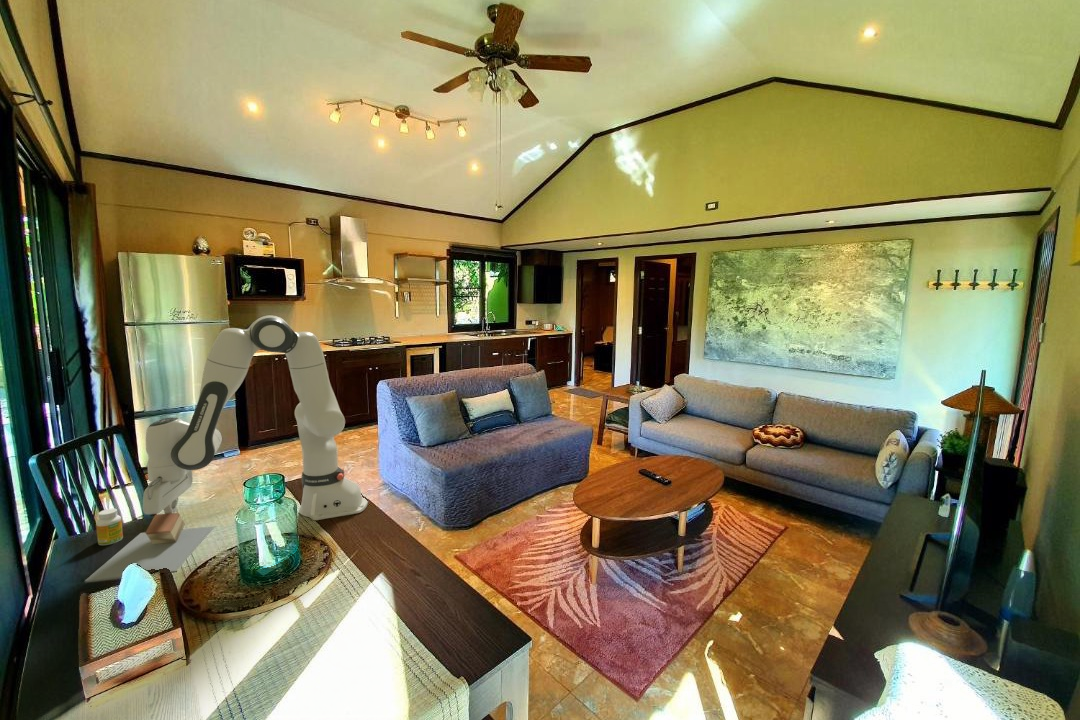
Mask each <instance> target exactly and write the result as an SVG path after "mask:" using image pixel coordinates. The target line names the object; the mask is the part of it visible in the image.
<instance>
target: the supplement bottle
mask: <svg viewBox="0 0 1080 720" xmlns="http://www.w3.org/2000/svg"><path fill="white" fill-rule="evenodd" d="M95 523H96V524H95V528H96V536H97V544H98V545H99V546H108V545H112V544H116V543H118V542H119V541H122V540H123V538H124V534H123V524H122V523H123V522H122V516H120V515H119V514H118V509H117V508H105V509H103V510H101V511H99V512H98V520H96V522H95Z"/></svg>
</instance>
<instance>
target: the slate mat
mask: <svg viewBox="0 0 1080 720" xmlns="http://www.w3.org/2000/svg"><path fill="white" fill-rule="evenodd" d="M215 528H216V526H204V527H193V528H192V527H191V528H183V530H182V532H181V534H180V536H179V538H178V540H177V542H172V543H160V544H152V542H151V541H150V539H149V537H148V536H147V534H146V533H145V532H140V533H139V534H138V535H136V536H135V537H134V538H133V539H132V540H131V541H130V542H128V543H127V544H126V545H124V547H123V548H121V549H120V550H119V551H118V552H117V553H116V554H114V555H112V557H110V559H108V560H107V561H106V562H105V563H104V564H103V565H101V566H100V567H99V568H98V569H97V570H95V571H94V572H93V573H92V574H91V575H89V577H87V578H86V579H85V580H84V583H91V582H92V583H93V582H94V583H95V582H101V581H103V582H104V581H109V580H118V579H119V580H120V579H122V578H121V576H122V572H123V570H124V569H125V568H126V567H127V566H128V565H129V564H131V563H137V564H138V565H140V566H141V567H142V568H144V569H146V570H151V569H155V570H159V569H163V568H167V569H169V570H170V572H171V573H170V574H172V573H173V574H174V573H177V572H178V569H179V568H180V567H181V566H182V565H183V564H184V563H185V561H187V559H188V558H189V557H190V556H191V555H192V553H194V551H195V550H197V548H198V547H199V546H200V545H201V544H202V542H203V541H204V540H205V538H207V537H208V535H209V534H210V533H211V532H212V531H213V529H215Z"/></svg>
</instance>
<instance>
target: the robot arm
mask: <svg viewBox="0 0 1080 720" xmlns="http://www.w3.org/2000/svg"><path fill="white" fill-rule="evenodd" d="M260 350H262V351H264V352H270V353H280V354H281V353H282V354H285V357H286V360H287V364H288V369H289V372H290V377H291V381H292V386H293V390H294V392H295V395H297V399H298V401H299V403H298V404H297V405H296V407H295V409H294V418H295V420H296V424H297V431H298V436H299V442H300V445H301V451H302V452H301V453H302V454H301V455H302V470H303V471H302V473H301V485H302V487H301V488H302V498H301V503H300V508H299V510H298V512H299V514H300V515H302V516H304V517H308V518H310V519H311V520H313V521H319V520H325V519H332V518H337V517H344V516H350V515H354V514H360V513H362V512H363V511H364V510H366V508H367V506H368V504H369V498H368V496H367V495H366V494H365V493H362V491H361V488H360V486H359V484H358V483H356V482H355V481H353V480H351V479H349V478H347V477H345V467H342V468H341V467H339V466H338V465H339V463H338V462H339V461H338V458H339V457H338V456H339V455H338V446H337V443H336V441H335V437H336V436H338V435H339V434H340V433H342V431H343V430H344V428H345V424H346V419H345V416H344V414H343V413H342V411H341V408H340V405H339V403H338V400H337V397H336V395H335V392H334V389H333V387H332V384H331V382H330V378H329V372H328V369H327V362H326V359H325V354H324V352H323V347H322V346H321V343H320V341H319V339H318V337H317V336H316V334H314V333H313V332H310V331H294V330H293V329H292V328H291V326H290V325H289V324H288V322H287V321H286V320H285V319H283V318H282V317H279V316H278V315H275V314H265V315H262V316H258V318H255V320H254V321H252V322H251V323H250V324H249V325H247V326H246V327H245V328H237V327H229V328H224V329H222V330H221V331H220V332H219V333H218V335H217V337H216V338H215V340H214V342H213V343H212V346H211V348H210V349H209V353H208V354H207V358H206V361H205V363H204V368H203V372H202V377H201V378H202V379H201V383H200V384H201V385H200V391H199V397H198V400H197V404H196V407H195V408H194V412H193V415H192V418H191V420H190V422H188V421H185V420H183V419H181V418H180V417H173V416H172V417H166V418H161V419H159V420H155V421H154V422H152V423H151V424H149V426H147V427H146V431H145V452H146V454H147V456H148V459H147V463H146V466H147V475H148V476H147V477H148V481H149V483H148V486H147V487H146V488H145V490H144V491H143V495H142V496H143V497H142V499H143V500H142V511H143V514H144V515H157V514H160V513H161V512H163V511H164V514H171V513H177V511H178V509H177V508H178V503H179V502H178V501H179V498H180V496H182V495H183V494H184V493H185V492H186V491H188V490H189V489H190V488H191V487H192V485H193V480H194V478H193V477H194V476H193V471H198V470H200V469H203V468H205V467H207V466H208V465H209V464H210V463H212V462H213V459H214V458H215V457H214V456H215V455H216V454H217V452H218V450H219V448H220V446H221V445H222V442H223V436H222V432H221V431H220V430H219V429H218V428H217V426H218V423H219V419H220V418H221V414H222V412H223V409H224V407H226V404H227V403H228V401H229V400H230V399H231V398H232V396H233V395H234V394H235V393H236V392H237V391H238V389H239V388H240V387H241V385H242V384H243V382H244V380H245V378H246V376H247V374H248V371H249V369H250V368H249V367H250V366H251V363H252V359H253V357H254V355H255V354H256V353H257V352H258V351H260ZM361 494H362V495H363V496H364V497H366V498H367V499H368V501H367V500H366V499H365V498H363V497H362V495H361Z"/></svg>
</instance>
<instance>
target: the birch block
mask: <svg viewBox="0 0 1080 720" xmlns="http://www.w3.org/2000/svg"><path fill="white" fill-rule="evenodd" d="M185 525H186V524H185V521H184V520H183V517H182V516H181V515H180V512H175V513H171V514H165V513H161V514H160V513H158V514H154V516H153V518H152V520H151V522H150V523H149V525H148V527H147V529H146V531H144V533H146V534H147V536H148V537H149V539H150V541H151V542H152V544H160V543H172V542H177V540H178V538H179V536H180V534H181V532H182V530H183V529H185V528H184V527H185Z"/></svg>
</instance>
